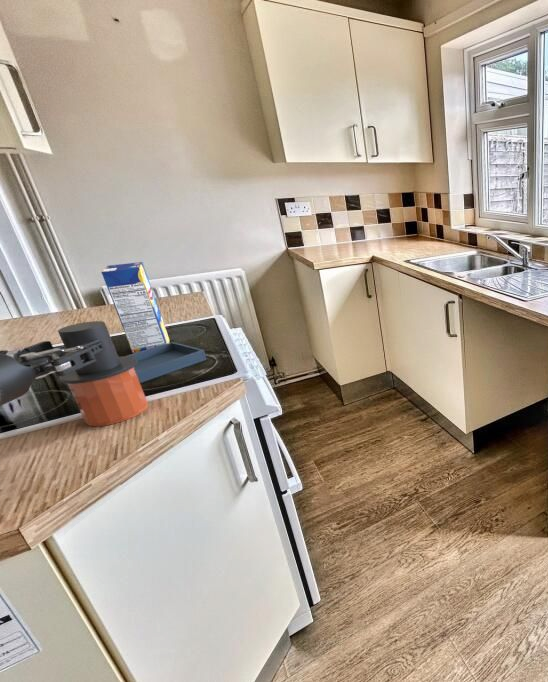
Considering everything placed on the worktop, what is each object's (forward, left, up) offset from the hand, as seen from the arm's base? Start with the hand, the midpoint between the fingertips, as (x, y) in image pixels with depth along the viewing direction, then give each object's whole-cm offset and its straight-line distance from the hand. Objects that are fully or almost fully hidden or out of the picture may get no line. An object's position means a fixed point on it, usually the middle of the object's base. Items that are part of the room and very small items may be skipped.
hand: (75, 345), depth 73 cm
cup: (+2, +1, -15) cm, 15 cm away
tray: (+15, +20, -15) cm, 29 cm away
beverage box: (+23, +35, -15) cm, 45 cm away
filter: (+2, +1, -9) cm, 9 cm away
